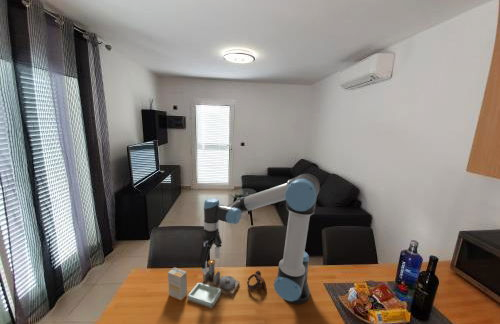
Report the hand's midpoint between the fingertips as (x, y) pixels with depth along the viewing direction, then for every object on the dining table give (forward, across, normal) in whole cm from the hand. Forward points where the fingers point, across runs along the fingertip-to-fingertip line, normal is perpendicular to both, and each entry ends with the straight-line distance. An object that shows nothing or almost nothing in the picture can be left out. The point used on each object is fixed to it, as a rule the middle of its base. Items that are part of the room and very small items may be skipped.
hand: (211, 264), depth 114 cm
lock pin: (+9, 0, 0) cm, 9 cm away
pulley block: (+11, 0, +6) cm, 12 cm away
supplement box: (+11, +14, -11) cm, 21 cm away
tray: (+11, +10, +2) cm, 15 cm away
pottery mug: (+11, -6, +25) cm, 28 cm away
